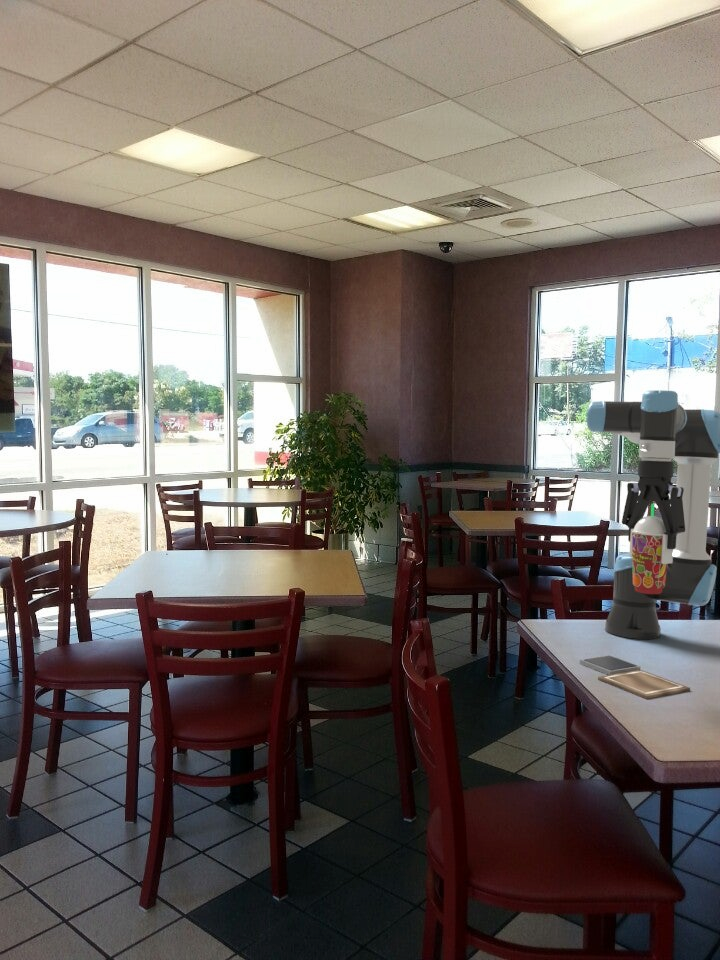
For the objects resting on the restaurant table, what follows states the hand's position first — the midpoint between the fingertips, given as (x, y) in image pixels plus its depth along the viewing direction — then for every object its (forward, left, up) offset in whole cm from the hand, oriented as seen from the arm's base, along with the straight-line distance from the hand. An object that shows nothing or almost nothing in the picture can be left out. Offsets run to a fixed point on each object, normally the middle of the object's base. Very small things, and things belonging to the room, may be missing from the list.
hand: (650, 559), depth 174 cm
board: (0, 0, -29) cm, 29 cm away
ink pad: (-3, -13, -29) cm, 32 cm away
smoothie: (0, 0, -8) cm, 8 cm away
